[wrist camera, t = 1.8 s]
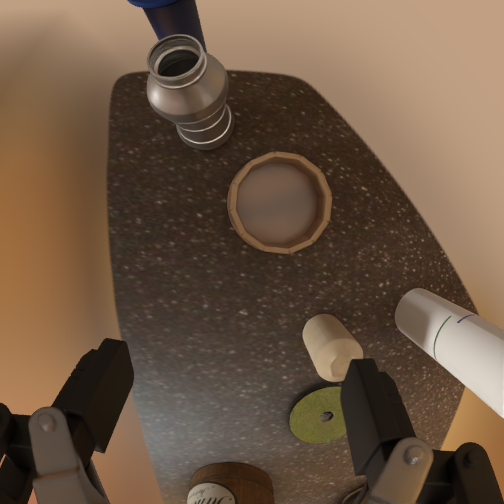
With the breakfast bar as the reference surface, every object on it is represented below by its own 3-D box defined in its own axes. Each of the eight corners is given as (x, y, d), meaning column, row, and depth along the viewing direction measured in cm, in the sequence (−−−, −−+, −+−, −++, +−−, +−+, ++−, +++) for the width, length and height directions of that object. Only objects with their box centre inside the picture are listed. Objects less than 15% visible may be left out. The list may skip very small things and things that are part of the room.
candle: (314, 357, 41) (332, 396, 31) (294, 328, 40) (309, 363, 30) (348, 335, 40) (375, 369, 30) (329, 305, 40) (354, 334, 30)
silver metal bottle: (234, 153, 37) (225, 98, 17) (179, 153, 36) (118, 104, 17) (236, 104, 36) (230, 15, 16) (182, 105, 35) (133, 23, 16)
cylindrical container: (436, 321, 41) (549, 396, 16) (399, 341, 41) (504, 439, 16) (429, 280, 40) (560, 340, 15) (390, 300, 40) (514, 386, 15)
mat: (273, 423, 42) (274, 431, 40) (315, 369, 41) (318, 376, 39) (330, 442, 43) (332, 450, 41) (372, 393, 42) (376, 400, 40)
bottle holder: (211, 178, 37) (207, 173, 32) (301, 140, 37) (309, 131, 32) (251, 267, 39) (253, 276, 34) (339, 228, 38) (352, 231, 33)
